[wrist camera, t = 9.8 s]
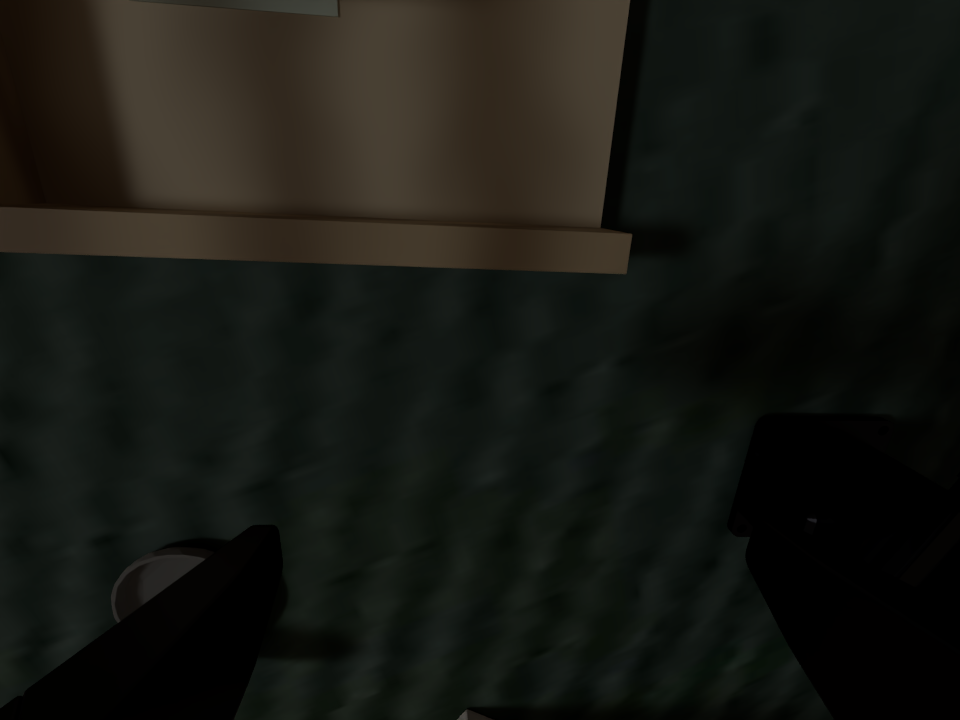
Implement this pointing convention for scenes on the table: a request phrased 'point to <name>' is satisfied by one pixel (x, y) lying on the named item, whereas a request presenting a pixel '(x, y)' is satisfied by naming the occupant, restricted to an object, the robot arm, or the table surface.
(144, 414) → the table surface
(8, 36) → the board
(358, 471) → the table surface
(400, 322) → the table surface
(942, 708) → the robot arm
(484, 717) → the milk
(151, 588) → the pocket watch
